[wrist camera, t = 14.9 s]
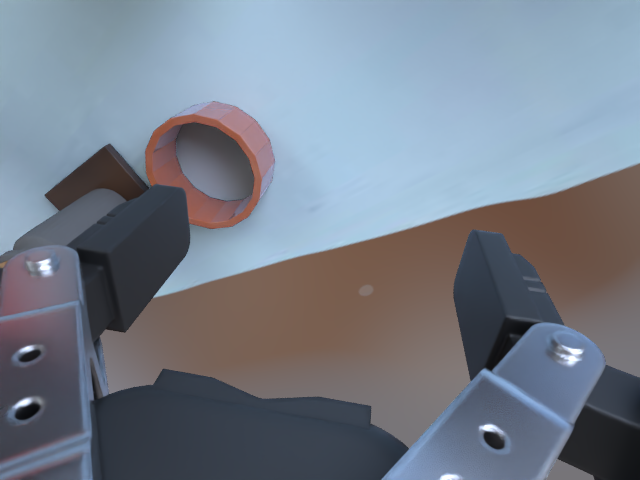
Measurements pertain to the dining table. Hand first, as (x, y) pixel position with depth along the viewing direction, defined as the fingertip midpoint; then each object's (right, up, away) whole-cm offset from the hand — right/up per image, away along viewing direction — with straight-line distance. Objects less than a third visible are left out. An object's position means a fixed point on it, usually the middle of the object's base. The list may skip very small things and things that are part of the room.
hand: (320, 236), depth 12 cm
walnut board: (-23, +4, +36) cm, 43 cm away
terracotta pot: (-10, +8, +31) cm, 33 cm away
